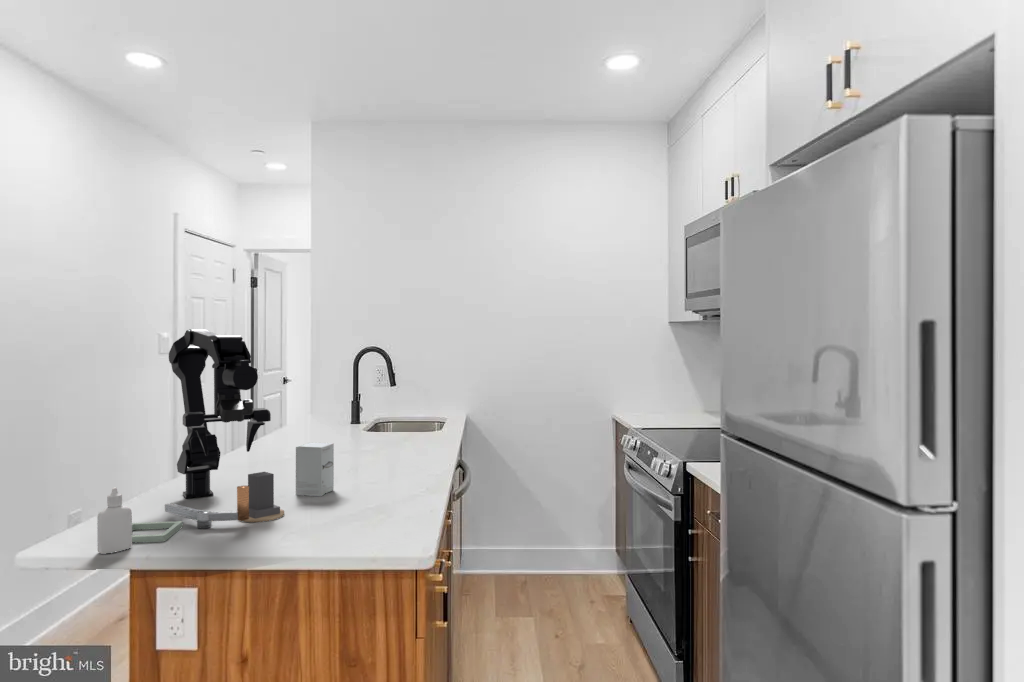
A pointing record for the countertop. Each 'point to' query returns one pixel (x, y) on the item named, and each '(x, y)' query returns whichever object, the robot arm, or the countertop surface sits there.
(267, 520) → the coaster
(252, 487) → the plug
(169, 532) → the socket frame
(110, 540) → the eye dropper bottle
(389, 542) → the countertop surface
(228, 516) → the grey rod with hub
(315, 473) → the supplement box
